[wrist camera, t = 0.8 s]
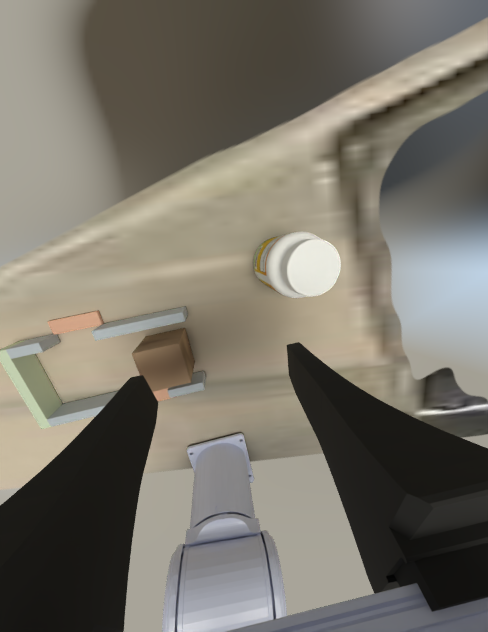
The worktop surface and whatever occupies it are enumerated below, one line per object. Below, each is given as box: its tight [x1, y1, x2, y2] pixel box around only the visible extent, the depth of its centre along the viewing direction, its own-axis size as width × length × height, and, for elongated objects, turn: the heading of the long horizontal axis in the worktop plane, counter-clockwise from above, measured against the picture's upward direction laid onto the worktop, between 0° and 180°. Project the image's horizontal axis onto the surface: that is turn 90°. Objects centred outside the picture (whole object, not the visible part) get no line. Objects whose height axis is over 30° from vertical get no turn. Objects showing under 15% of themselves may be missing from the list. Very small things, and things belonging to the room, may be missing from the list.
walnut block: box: [132, 328, 195, 392], centre depth 23 cm, size 4×4×4 cm
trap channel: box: [0, 306, 205, 429], centre depth 24 cm, size 12×18×2 cm
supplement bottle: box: [253, 232, 341, 298], centre depth 19 cm, size 5×5×10 cm
